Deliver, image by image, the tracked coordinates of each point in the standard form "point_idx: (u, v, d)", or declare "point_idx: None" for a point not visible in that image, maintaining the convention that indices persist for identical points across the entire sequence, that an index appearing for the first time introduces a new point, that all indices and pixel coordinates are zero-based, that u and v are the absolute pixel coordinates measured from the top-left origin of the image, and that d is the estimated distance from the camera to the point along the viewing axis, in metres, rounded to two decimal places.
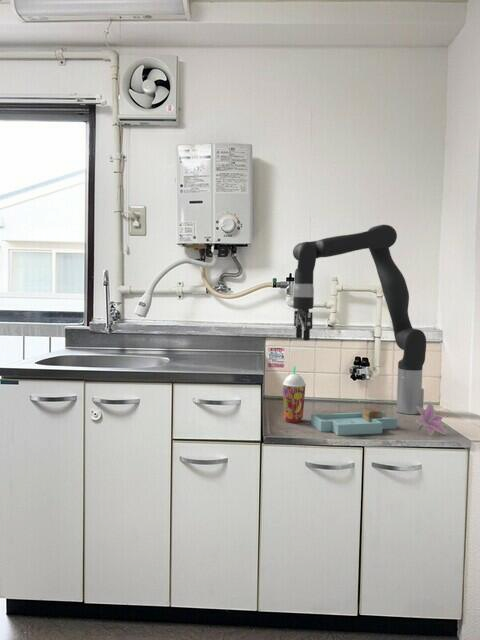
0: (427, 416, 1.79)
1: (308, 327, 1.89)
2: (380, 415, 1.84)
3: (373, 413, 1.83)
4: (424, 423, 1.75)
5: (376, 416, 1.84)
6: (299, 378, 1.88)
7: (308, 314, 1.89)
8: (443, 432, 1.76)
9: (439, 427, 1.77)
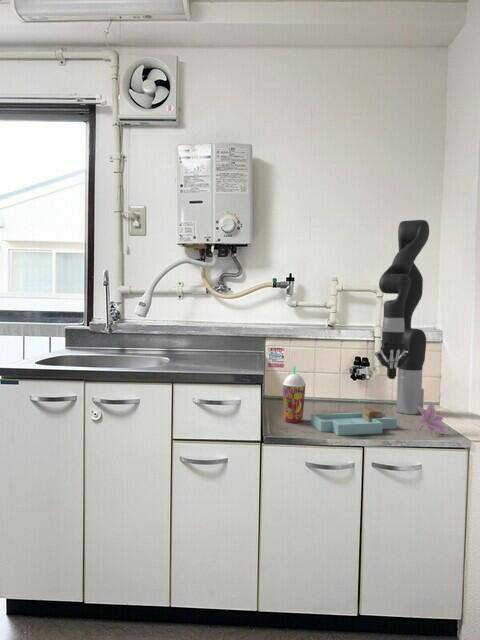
0: (428, 416, 1.78)
1: None
2: (380, 415, 1.84)
3: (373, 413, 1.83)
4: (425, 423, 1.75)
5: (376, 416, 1.84)
6: (299, 378, 1.88)
7: None
8: (444, 432, 1.76)
9: (440, 427, 1.77)
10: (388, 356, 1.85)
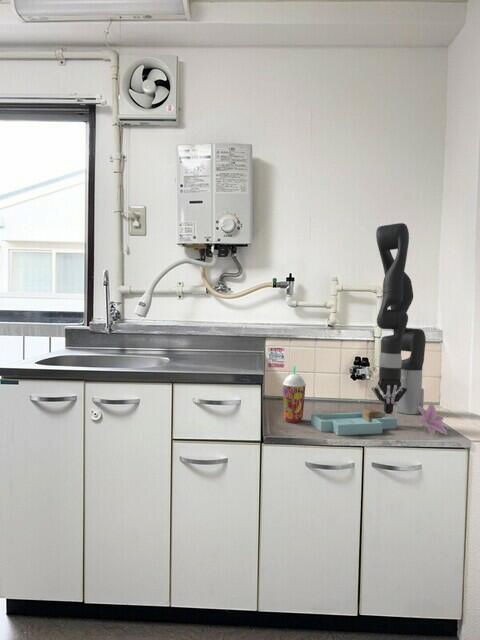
0: (428, 416, 1.78)
1: None
2: (380, 415, 1.84)
3: (373, 413, 1.83)
4: (425, 423, 1.75)
5: (376, 416, 1.84)
6: (299, 378, 1.88)
7: None
8: (444, 432, 1.76)
9: (441, 427, 1.77)
10: (385, 391, 1.86)
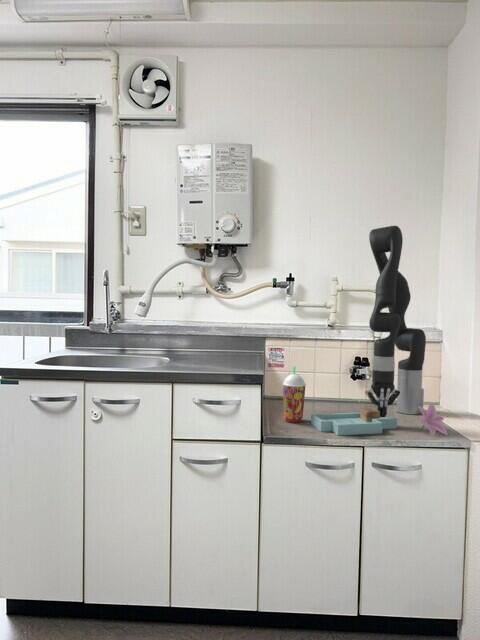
0: (428, 416, 1.78)
1: None
2: (378, 415, 1.84)
3: (371, 413, 1.83)
4: (426, 423, 1.74)
5: (374, 416, 1.84)
6: (299, 378, 1.88)
7: None
8: (445, 432, 1.76)
9: (441, 427, 1.77)
10: (378, 395, 1.85)
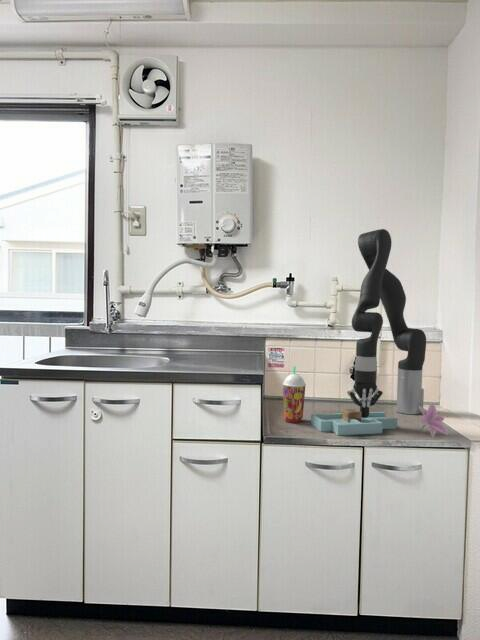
0: (429, 416, 1.78)
1: None
2: (359, 415, 1.83)
3: (352, 413, 1.82)
4: (426, 423, 1.74)
5: (355, 416, 1.83)
6: (299, 378, 1.88)
7: None
8: (445, 432, 1.76)
9: (441, 427, 1.77)
10: (361, 395, 1.83)
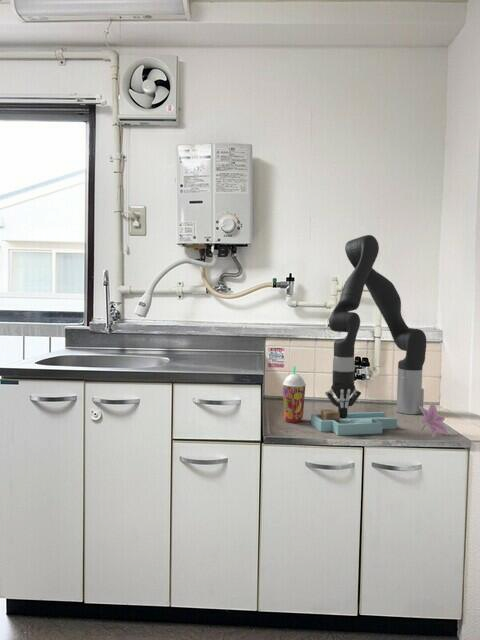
0: (430, 416, 1.78)
1: None
2: (338, 416, 1.81)
3: (330, 414, 1.81)
4: (427, 423, 1.74)
5: (333, 417, 1.81)
6: (299, 378, 1.88)
7: None
8: (446, 432, 1.76)
9: (442, 427, 1.76)
10: (338, 396, 1.82)
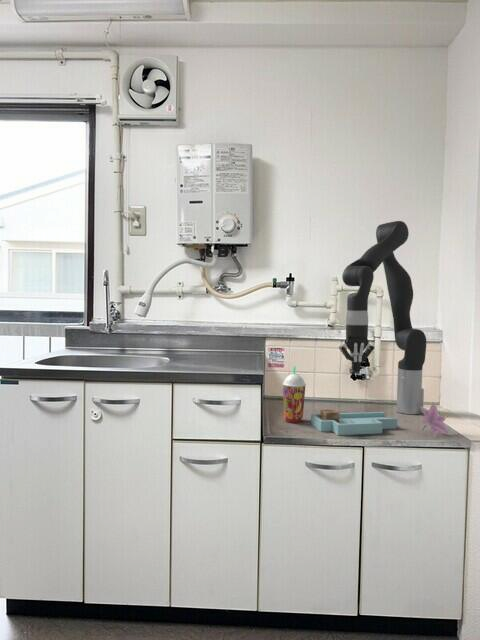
0: (430, 416, 1.78)
1: None
2: (337, 416, 1.81)
3: (330, 414, 1.81)
4: (428, 423, 1.74)
5: (333, 417, 1.81)
6: (299, 378, 1.88)
7: None
8: (447, 432, 1.76)
9: (443, 427, 1.76)
10: (352, 350, 1.82)
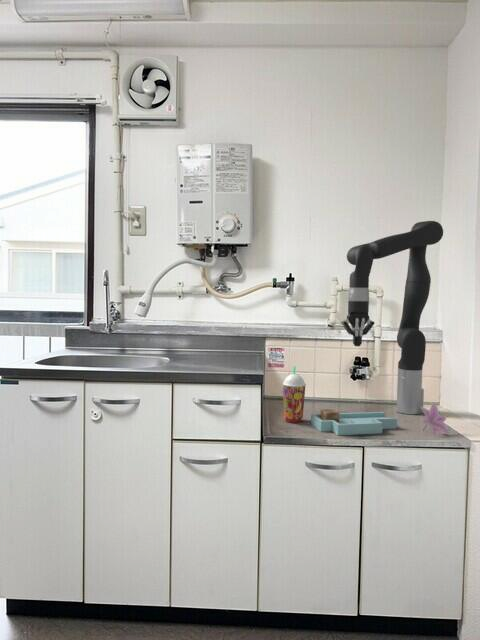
0: (431, 416, 1.78)
1: None
2: (337, 416, 1.81)
3: (330, 414, 1.81)
4: (429, 424, 1.74)
5: (333, 417, 1.81)
6: (299, 378, 1.88)
7: None
8: (447, 432, 1.76)
9: (444, 427, 1.76)
10: (354, 324, 1.94)
